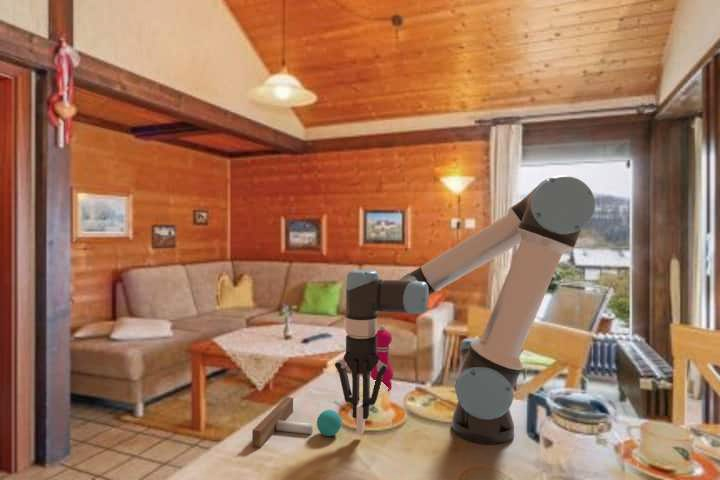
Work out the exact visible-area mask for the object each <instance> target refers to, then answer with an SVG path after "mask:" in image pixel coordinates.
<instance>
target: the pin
mask: <svg viewBox="0 0 720 480" xmlns="http://www.w3.org/2000/svg"><path fill="white" fill-rule="evenodd" d="M314 428H315V427H314V423H308V422H298V421H289V420H285V421H280V420H278V421H277V424H276V431H277V432H287V433H295V434H297V433H299V434H305V435H312V434H313V433H314Z"/></svg>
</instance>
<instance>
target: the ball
mask: <svg viewBox="0 0 720 480" xmlns="http://www.w3.org/2000/svg"><path fill="white" fill-rule="evenodd" d="M316 426H317V427H316V428H317V430H318V431H319V433H320V434H321V435H323V436H325V437H332V436H335V435H336V434H337V433H338V432H339V431H340V430H341V427H342V418H341V417H340V414H339V413H338V412H337V411H336V410H333V409H326V410H324V411H322V412H321V413H320V414H319V415H318V417H317V421H316Z"/></svg>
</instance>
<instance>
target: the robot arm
mask: <svg viewBox="0 0 720 480" xmlns="http://www.w3.org/2000/svg"><path fill="white" fill-rule="evenodd" d="M595 208H596V200H595V196H594V194H593V192H592V190H591V188H590V186H588V185H587V184H586V183H585V181H582V180H580V179H579V178H577V177H574V176H570V175H555V176H550V177H548V178H546V179H544V180H542V181H541V182H540V183H539V184H538V185H537V186H536V187H535V188H533V189H532V190H531V192H529V193H528V194H527V195H526V196H525V197H523V199H521V200H520V201H518V202H517V203H516V204H514V205H513V206H511V207H509V208H508V212H507V214H506V215H504V216H502V217H501V218H499V219H497V220H496V221H494V222H493V223H491V224H489V225H487V226H486V227H484V228H482V229H481V230H479V231H478V232H476V233H474V234H473V235H470V236H469V237H467V238H466V239H464V240H462V241H461V242H459V243H458V244H456V245H454V246H453V247H451V248H449V249H448V250H446V251H444V252H443V253H441V254H440V255H438V256H436V257H434V258H432V259H431V260H428V262H426V263H425V264H423V265H422V266H421V265H420V267H418V268H417V269H414V270H412V271H411V272H410V273H407V274H406V275H404V276H402V277H401V278H400V279H399V280H398V279H396V280H395V279H380V278H379V273H378V272H377V270H373V269H354V270H350V271H349V272H348V273H347V275H346V287H345V305H346V306H345V309H346V310H345V311H346V312H345V334H347V335H346V336H345V353H344V356H343V358H341V359H338V360H337V361H336V362H335V363H334V367H335V369H336V370H337V372H338V374H339V375H338V376H339V381H340V384H341V388H342V393H343V397H344V401H345V403H350V404H351V405H352V418H353V419H356V428H355V429H356V434H360V435H363V434H364V432H365V430H366V420H368V418H369V416H370V406H371V405H372V406H374V405H375V404H376V402H377V400H378V396H379V392H380V391H379V389H380V385H381V381H382V377H383V374H384V373H385V371H386V369H387V367H388V365H387V364H386V363H385V364H384V363H382V362H381V361H380V360H379V357H378V355H377V336H376V335H375V334H376V333H377V331H378V312H383V313H384V312H385V313H386V312H387V313H397V314H409V315H415V314H418V315H420V314H423V315H424V314H426V313H427V311H428V307H429V299H430V296H431V295H433V294H435V293H436V292H438V291H440V290H441V289H443V288H445V287H446V286H448V285H450V284H451V283H453V282H456V281H457V280H458V279H460V278H463V276H466V275H468V274H469V273H471V272H473V271H474V270H476V269H478V268H479V267H482V266H483V265H486V264H487V263H488V262H490V261H492V260H494V259H495V258H497V257H499V256H500V255H501V256H502V254H504V253H505V252H508V251H510V250H511V249H513V248H515V247H517V246H518V247H517V250H516V253H515V255H514V257H513V260H512V262H511V265H510V267H509V270H508V272H507V274H506V276H505V279H504V282H503V285H502V286H501V289H500V292H499V293H498V296H497V299H496V301H495V303H494V306H493V308H492V311H491V313H490V314H489V318H488V320H487V322H486V324H485V327H484V331H483V333H482V335H481V338H479V337H474V338H473V337H471V338H464V339H462V340H461V341H460V348H459V351H460V353H459V359H460V360H459V367H458V372H457V378H456V380H455V386H454V389H455V395H456V399H457V403H456V405H455V409H454V411H453V415H452V419H451V428H452V431H454V433H455V434H456V435H458V436H459V437H461V438H463V439H465V440H466V441H467V440H468V441H470V442H473V443H478V444H482V445H484V444H486V445H497V444H498V445H499V444H504V443H507V442H509V441H511V440H512V439H513V438H514V437H515V424H514V423H515V422H514V420H513V418H512V414H511V411H510V408H511V406H512V404H513V401H514V388H515V386H516V383H517V382H518V379H519V376H520V374H521V372H522V369H523V363H522V362H521V359H520V355H521V352H522V350H523V347H524V345H525V343H526V340H527V338H528V335H529V333H530V332H531V331H530V330H531V328H532V326H533V324H534V322H535V319H536V316H537V315H538V312H539V310H540V308H541V306H542V302H543V300H544V298H545V296H546V294H547V292H548V290H549V289H548V288H549V287H550V284H551V281H552V279H553V276H554V275H555V273H556V270H557V268H558V265H559V264H560V261H561V258H562V256H563V255H564V254H565V253H568V252H569V251H572V250H574V248H575V246H576V244H577V241H578V239H579V237H580V234H581V233H582V230H583V229H585V227H586V226H587V225H588V224H589V222H590V221H591V220H592V218H593V215H594V213H595ZM376 365H377V371H378V374H377V377H376V381H375V385H374V388H372V392H370V391H371V390H370V389H371V387H370V386H371V385H370V384H371V379H370V378H371V371H372V369H373V368H374V367H375V366H376ZM346 367H348V368H349V370H350V371H351V378H352V379H351V381H352V384H351V385H352V386H351V385H350V380H349V375H348V372H347V368H346ZM360 375H361V376H362V401H361V402H360V400H361V398H360ZM351 387H352V389H351ZM370 394H371V395H370Z"/></svg>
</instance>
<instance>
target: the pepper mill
mask: <svg viewBox="0 0 720 480" xmlns="http://www.w3.org/2000/svg"><path fill="white" fill-rule="evenodd" d="M375 335H376V336H377V355H378V357H379V360H380V361H381V362H382V363H384V364H385V363H386V364H387V365H388V367H387V369H386V371H385V373H384V374H383V377H382V381H381V382H383V383H384V384H385V385H386V386H387V387H388V388H389V390H388V391H390V390H391V389H392V388H393V386H392V385H393V384H392V383H393V382H392V381H391V380H392V379H393V378H394V370H393V367H392V364H391V363H390V362H391V361H390V359H389V358H390V357H389V351H390V350H391V345H390V344H391V343H392V340H393V337H392V334H391V332H390V331H389V330H386V327H385V325H382V324H381V325H380V326H379V330H378V329H377V333H376V334H375ZM377 374H378V371H377V365H376V366H375V367H374V368H373V369H372V371H371V372H370V378H371V379H372V381H373V380H376V377H377Z"/></svg>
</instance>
